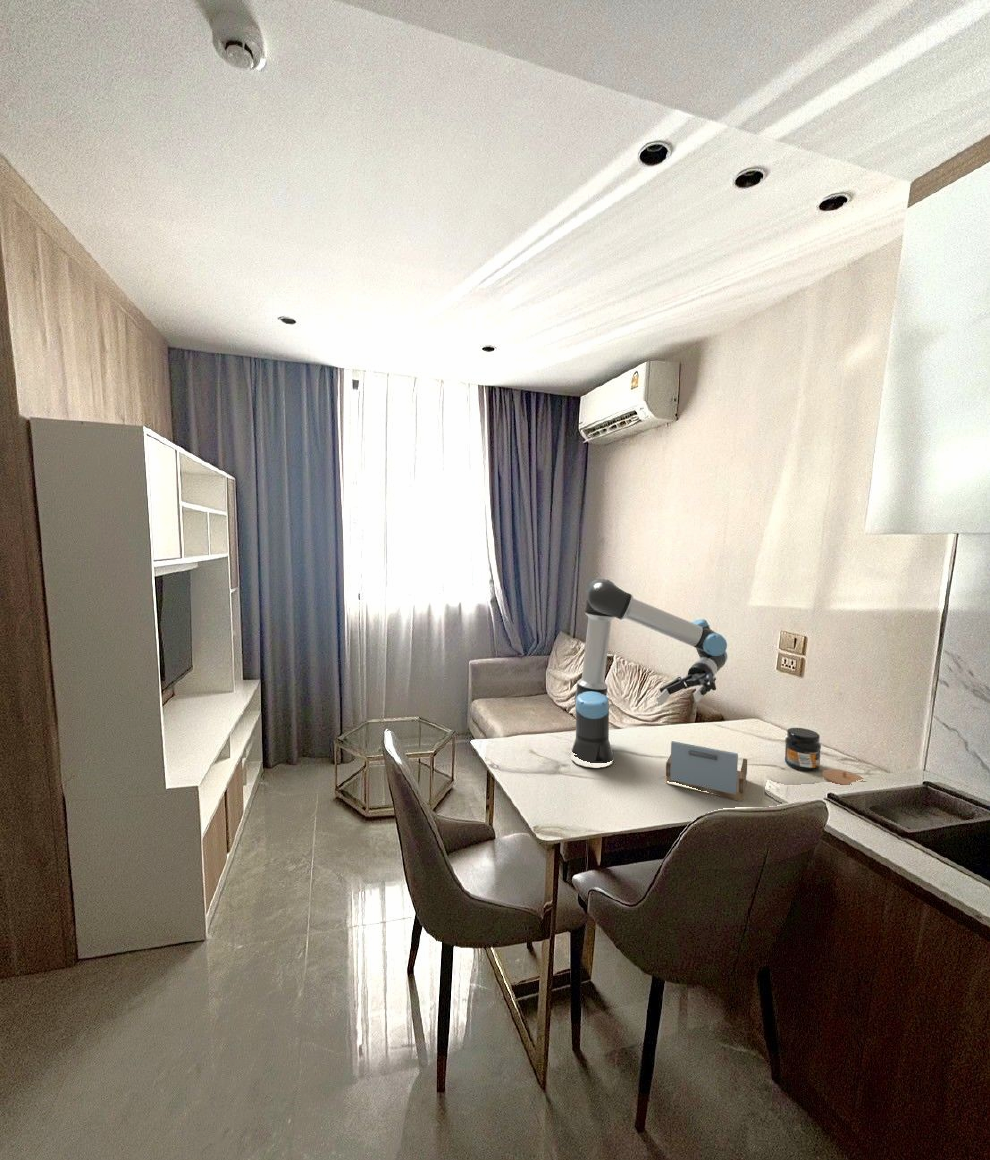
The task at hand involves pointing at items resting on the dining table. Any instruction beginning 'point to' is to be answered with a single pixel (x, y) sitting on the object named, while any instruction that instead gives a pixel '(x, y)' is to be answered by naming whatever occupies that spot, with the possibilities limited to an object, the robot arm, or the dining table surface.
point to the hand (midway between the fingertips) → (676, 700)
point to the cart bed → (739, 796)
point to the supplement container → (802, 749)
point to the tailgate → (704, 767)
